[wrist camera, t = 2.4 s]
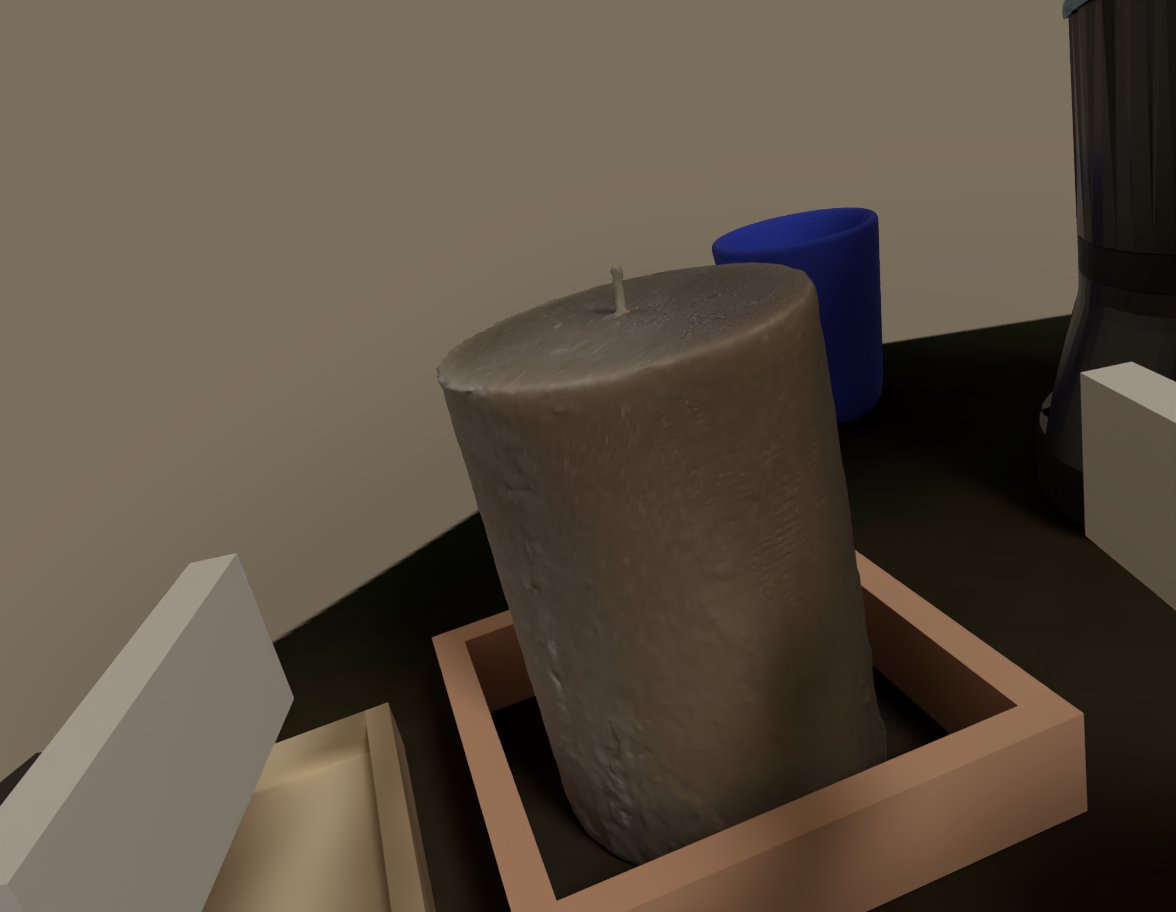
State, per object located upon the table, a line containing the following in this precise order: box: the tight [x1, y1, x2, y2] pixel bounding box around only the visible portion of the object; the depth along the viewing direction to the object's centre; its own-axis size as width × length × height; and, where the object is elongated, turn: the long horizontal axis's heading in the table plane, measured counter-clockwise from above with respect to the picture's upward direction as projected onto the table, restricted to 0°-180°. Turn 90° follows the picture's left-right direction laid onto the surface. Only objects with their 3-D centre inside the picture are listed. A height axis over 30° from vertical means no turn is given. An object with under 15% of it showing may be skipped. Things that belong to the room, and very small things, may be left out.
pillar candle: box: [437, 262, 888, 866], centre depth 26 cm, size 10×10×15 cm
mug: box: [712, 208, 883, 425], centre depth 49 cm, size 8×12×10 cm
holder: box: [432, 550, 1087, 912], centre depth 28 cm, size 14×14×3 cm
